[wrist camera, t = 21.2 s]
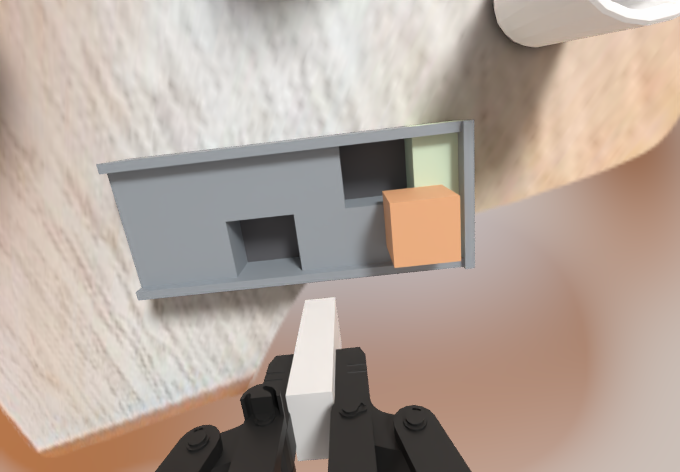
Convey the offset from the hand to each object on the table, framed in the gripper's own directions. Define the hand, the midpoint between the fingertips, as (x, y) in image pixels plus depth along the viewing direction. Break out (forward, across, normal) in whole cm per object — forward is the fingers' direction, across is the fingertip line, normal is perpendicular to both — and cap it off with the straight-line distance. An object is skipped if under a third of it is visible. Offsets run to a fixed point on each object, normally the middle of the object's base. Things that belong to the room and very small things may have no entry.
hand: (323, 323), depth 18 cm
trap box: (+18, -3, +2) cm, 19 cm away
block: (+14, +7, +1) cm, 16 cm away
